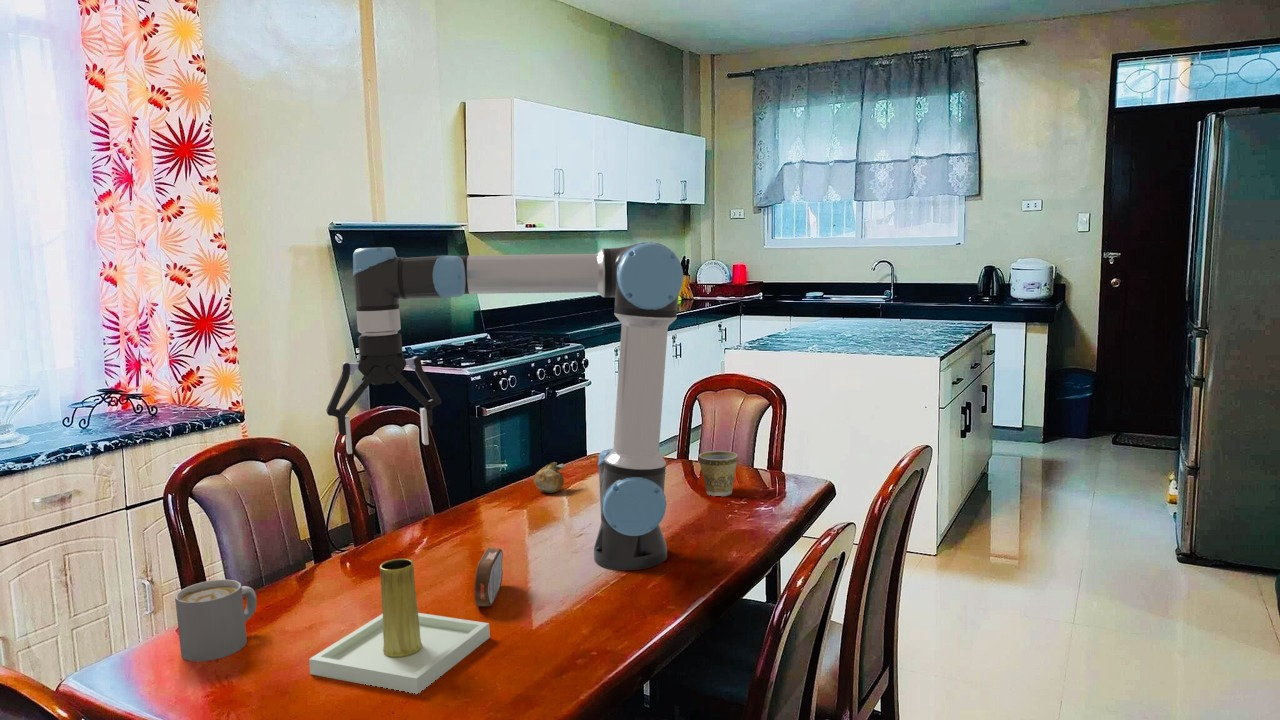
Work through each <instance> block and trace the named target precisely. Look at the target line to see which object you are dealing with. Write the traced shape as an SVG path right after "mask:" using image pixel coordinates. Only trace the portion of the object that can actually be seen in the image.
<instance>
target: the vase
mask: <svg viewBox="0 0 1280 720" xmlns="http://www.w3.org/2000/svg"><path fill="white" fill-rule="evenodd" d="M379 574H380V593H381V594H380V595H381V606H382V607H381V609H382V614H383V639H384V646H383V653H384V654H385V655H387V656H390V657H405V656H409V655H412V654H414V653H416V652H418V651H419V650H420V649H421V647H422V643H421V638H420V627H419V618H418V613H419V609H418V603H417V602H418V601H417V591H416V581H415V568H414V560H412V559H410V558H394V559H391V560H390V559H389V560H386V561H384V562H382V563H381V564H380V565H379Z"/></svg>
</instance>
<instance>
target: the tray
mask: <svg viewBox="0 0 1280 720" xmlns="http://www.w3.org/2000/svg"><path fill="white" fill-rule="evenodd" d="M418 618H419V627H420V638H421V643H422V647H421V649H420V650H419V651H418V652H416V653H414V654H412V655H409V656H405V657H390V656H387V655H385V654H384V653H383V646H384V639H383V613H381V614H380V615H378V616H376V617H375V618H374V619H373V618H372V619H371V620H370V621H368V622H367V623H365V624H364V625H362V626H360V627H359V628H357V629H355V630H354V631H352V632H350V633H349V634H348V635H345V636H344V637H342V638H341V639H339V640H338V641H336V642H334V643H332V644H331V645H329V646H328V647H326V648H323V650H321V651H320V652H317V654H314V655H313V656H311V657H310V658H308V662H309V663H308V664H309V673H310V675H312V676H313V675H314V676H318V677H322V678H323V677H324V678H329V679H334V680H339V681H344V682H351V683H356V684H361V685H365V684H366V686H370V685H372V686H371V687H375V686H377V688H380V687H383V688H382V689H386V688H388V689H387V690H391V689H394V690H393V691H396V690H399V691H398V692H401V691H405V692H404V693H407V692H409V693H408V694H412V693H413V695H417V694H418V693H419V694H420V693H422V692H423V691H424V690H426V689H427V688H428V687H429V686H430V685H432V684H433V683H434V682H436V681H437V680H438V679H439V678H441V677H442V676H443V675H445V673H447V672H449V670H451V669H452V668H453V667H455V666H456V665H457V664H459V663H460V662H461V661H462V660H463V659H465V658H466V657H467V656H469V655H470V654H471V653H472V652H473V651H475V650H476V649H477V648H478V647H479V648H480V646H481V645H482V644H483V643H485V642H486V641H487V640H490V638H491V635H490V634H491V633H490V623H489V622H483V621H475V620H469V619H463V618H455V617H449V616H443V615H436V614H429V613H422V612H418ZM440 676H441V677H440ZM435 680H436V681H435ZM431 683H432V684H431ZM426 687H427V688H426ZM422 690H423V691H422ZM421 691H422V692H421ZM414 693H415V694H414ZM419 694H418V695H419Z"/></svg>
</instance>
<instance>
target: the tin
mask: <svg viewBox="0 0 1280 720" xmlns="http://www.w3.org/2000/svg"><path fill="white" fill-rule="evenodd" d="M503 557H504V552H503V550H502V549H501V548H496V547H495V548H494V547H487V548H486V549H485V551H484V553H483V554H482V556H481V558H480V559H479V561H478V563H477V567H476V570H475V572H476V573H475V577H474V578H475V579H474V603H475V607H488V608H489V607H491V606H492V605H493V604H494V602H495V600H496V598H497V597H498V594H499V592H500V590H501V586H502V583H503Z"/></svg>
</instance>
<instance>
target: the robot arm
mask: <svg viewBox="0 0 1280 720" xmlns="http://www.w3.org/2000/svg"><path fill="white" fill-rule="evenodd" d="M352 263H353V264H352V265H353V266H352V269H353V270H352V271H353V272H352V278H353V287H354V297H355V308H356V309H355V310H356V311H355V312H356V323H357V332H358V333H360V334H361V335H359V336H358V337H357V339H358V352H359V361H358V362H357V363H356V362H348V361H343V362H342V363H341V374H340V376H339V379H338V381H337V384H336V386H335V389H334V392H333V393H332V395H331V398H330V401H329V402H328V405H327V407H326V409H325V411H326V414H327V415H328V416H329V417H330V416H332V417H334V418H335V417H336V419H337V426H338V427H337V428H338V433H339V435H340V436H345V445H346V447H345V448H346V453H347V455H352V454H353V444H352V431H351V419H350V417H349V415H348V413H349V411H351V409H352V407H353V406H354V404H356V402H357V401H358V399H359V398H360V397H361V395H362V394H363V393H364V392H365V390H366V389H367V388H368V387H369V385H370V384H372V385H374V386H380V385H383V384H387V385H391V384H394V383H396V382H399V383H400V385H402V386H403V387H404V388H405V389H406V390H407V391H408V392H409V394H411V395H412V396H413V397H414V398H415V399H416V400H417V401H418V402H419V403H420V404H421V405H423V406H424V407H419V413H420V414H419V416H420V428H421V429H420V430H421V442H422V444H423V445H424V446H428V445H429V444H430V443H429V442H430V441H429V429H428V427H430V426H433V423H434V419H433V418H434V417H433V408H435V407H436V406H439V405H441V404H442V399H441V397H440V396H439V393H438V392H437V390H436V389H435V387H434V385H433V384H432V382H431V380H430V379H429V377H428V376H427V374H426V372H425V371H424V369H423V365H422V359H421V358H420V357H419V356H417V355H415V356H413V357H411V358H404V354H403V340H402V334H401V333H400V332H399V331H400V330H401V329H402V328H401V314H400V304H399V303H400V300H411V299H412V300H414V299H422V300H423V299H451V298H459V297H462V296H463V295H472V294H473V295H475V294H476V295H477V294H478V295H481V294H484V295H485V294H487V295H489V294H558V293H560V294H561V293H566V294H569V293H576V294H577V293H597V294H598V295H600V296H601V297H602V298H614V311H613V312H614V313H613V314H614V316H615V317H616V318H617V320H618V321H619V322H620V323H621V326H620V327H621V329H620V330H621V331H620V344H619V357H618V359H619V361H618V373H617V374H618V375H617V390H616V391H617V392H616V403H615V418H614V419H615V420H614V431H613V432H614V434H613V446H612V447H613V448H609V449H605V450H602V451H600V453H599V454H598V462H597V467H598V476H599V477H598V479H599V480H598V481H599V500H600V501H599V502H600V503H599V505H600V526H599V529H598V533H597V536H596V539H595V543H594V546H593V560H594V562H595V563H596V564H597V565H599V566H601V567H603V568H605V569H611V570H616V571H617V570H619V571H635V570H636V571H637V570H643V569H644V570H645V569H649V568H652V567H653V568H654V567H655V566H658V565H660V564H662V563H664V562H666V560H667V558H668V547H667V542H666V540H665V537H664V534H663V531H662V530H661V527H660V523H662V521H663V519H664V516H665V513H666V509H667V499H666V498H667V497H666V494H665V484H666V483H665V482H666V469H667V468H666V467H667V462H666V460H665V458H663V457H662V455H661V454H660V452H659V451H660V440H661V426H662V425H661V423H662V412H663V399H664V398H663V397H664V384H665V369H666V356H667V342H668V330H669V329H668V328H669V326H670V325H671V324H673V322H675V321H676V320H677V318H678V306H679V294H680V292H681V290H682V286H683V284H684V271H683V266H682V264H681V261H680V259H679V258H678V256H677V254H676V253H675V252H674V251H673V250H672V249H670V248H669V247H667V246H666V245H663V244H661V243H658V242H654V241H649V242H648V241H643V242H640V243H635V244H631V245H628V246H621V247H615V248H614V247H612V248H611V247H610V248H601V249H600V250H599V251H598V252H596V253H567V254H566V253H565V254H564V253H560V254H559V253H558V254H555V253H553V254H550V253H548V254H545V253H544V254H491V255H489V254H487V255H486V254H484V255H479V254H478V255H475V254H474V255H472V254H471V255H448V254H446V255H445V254H442V255H439V254H438V255H435V256H434V255H432V256H419V257H417V256H416V257H414V256H413V257H401V256H399V257H398V256H397V254H396V250H395V248H394V247H391V246H390V247H389V246H388V247H387V246H386V247H385V246H384V247H362V248H361V247H360V248H357V249H355V250H354V252H353V254H352ZM407 366H408V367H409V368H410V369H411V370H414V372H415V374H416V375H417V377H418V379H419V380H420V383H422V385H423V387H424V389H425V390H426V392H427V393H428V395H429V397H430V399H427V398H426V397H425V396H424V395H423V394H422V393H421V392H420V391H419V390H418V389H417V388H416V387H415V386H414V385H413V384H412V383H410V382H409V380H408V379H407V378H406V377H405V376H403V375H402V373H403V371H404V370H405V368H406V367H407ZM356 370H358V371H359V372H360V373H361V374H362V375H363V376H362V377H361V379H360V380H359V382H358V383H357V385H356V386H355V387H354V389H353V390H352V392H350V394H349V395H348V397H346V399H345V401H344V402H343V403H342V405H341V406H339V409H338V408H337V407H338V405H339V404H340V400H341V398H342V396H343V394H344V392H345V389H346V387H347V385H348V382H349V380H350V376H353V375H354V373H355V371H356Z"/></svg>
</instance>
